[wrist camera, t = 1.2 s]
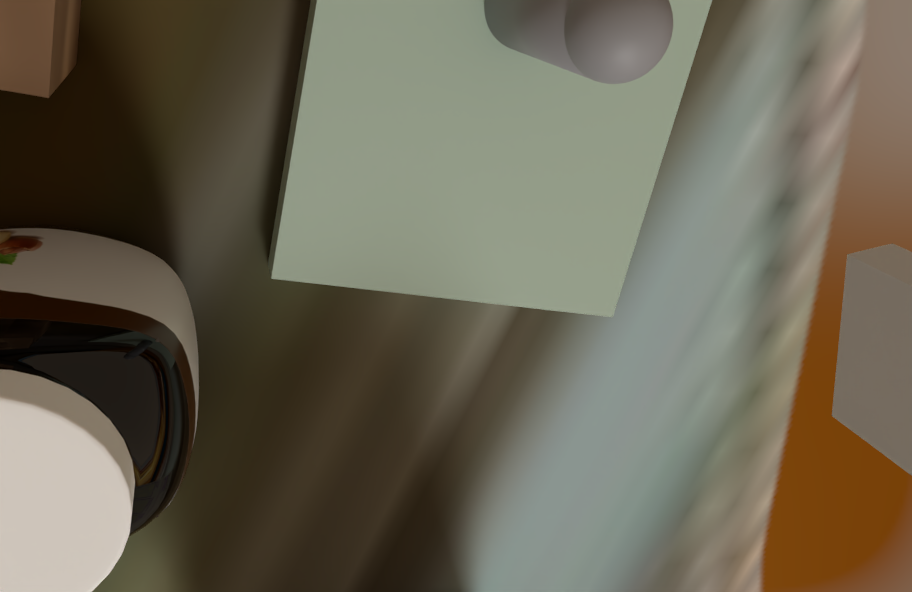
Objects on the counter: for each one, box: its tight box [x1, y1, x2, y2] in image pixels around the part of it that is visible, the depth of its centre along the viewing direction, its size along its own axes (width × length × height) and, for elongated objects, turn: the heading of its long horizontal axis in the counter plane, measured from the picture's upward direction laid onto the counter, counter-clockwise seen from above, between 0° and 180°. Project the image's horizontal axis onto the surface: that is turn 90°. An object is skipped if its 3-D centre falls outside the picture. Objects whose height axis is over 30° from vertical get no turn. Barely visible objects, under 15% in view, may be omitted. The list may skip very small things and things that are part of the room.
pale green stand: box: [268, 0, 712, 317], centre depth 26 cm, size 14×22×10 cm, turn 166°
